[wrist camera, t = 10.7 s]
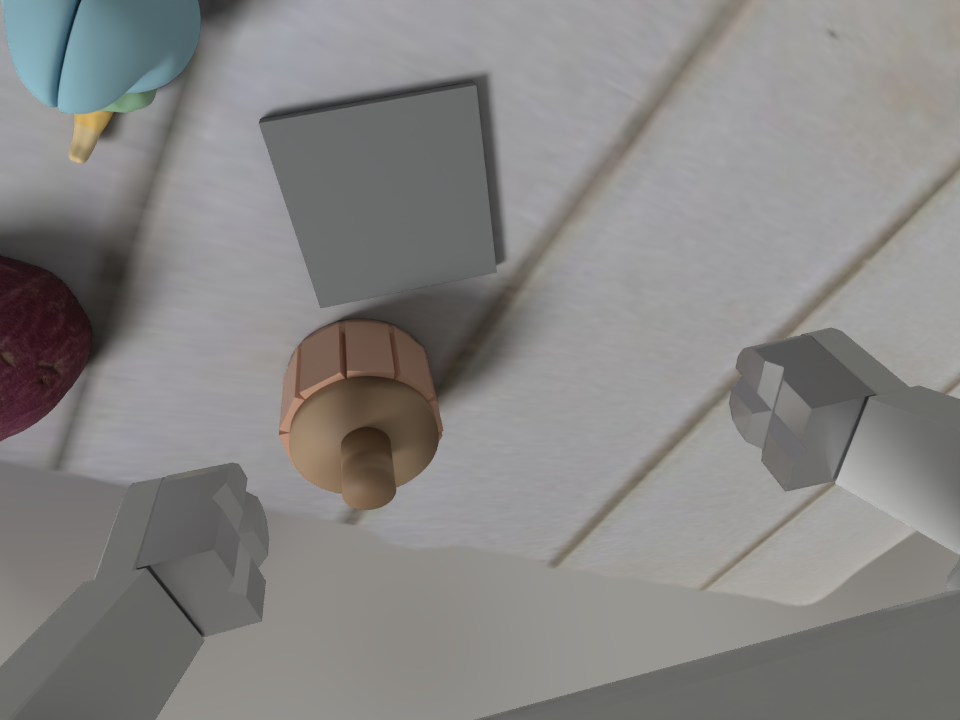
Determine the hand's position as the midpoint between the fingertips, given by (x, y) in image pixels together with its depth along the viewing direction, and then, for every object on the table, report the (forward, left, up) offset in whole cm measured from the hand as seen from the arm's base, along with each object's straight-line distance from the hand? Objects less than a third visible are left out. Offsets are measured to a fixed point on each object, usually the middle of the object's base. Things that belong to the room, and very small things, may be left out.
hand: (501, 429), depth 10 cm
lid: (+6, +21, -23) cm, 32 cm away
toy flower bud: (+13, -3, -29) cm, 32 cm away
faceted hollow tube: (+6, +21, -29) cm, 36 cm away
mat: (+1, +8, -29) cm, 30 cm away
